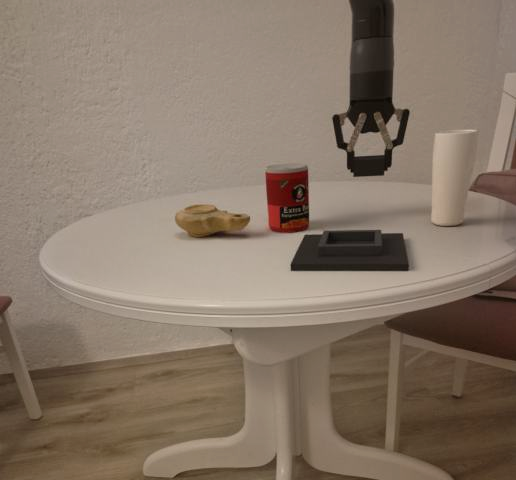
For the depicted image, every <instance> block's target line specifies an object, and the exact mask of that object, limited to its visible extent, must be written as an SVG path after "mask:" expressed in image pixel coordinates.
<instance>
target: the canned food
mask: <svg viewBox="0 0 516 480" xmlns="http://www.w3.org/2000/svg"><path fill="white" fill-rule="evenodd" d="M264 173H265V174H264V175H265V190H266V206H267V221H268V226H269V229H270V230H271V231H273V232H276V233H297V232H302V231H305V230H306V229H308V228H309V224H310V192H309V191H310V190H309V189H310V187H309V182H310V181H309V166H308V164H306V163H302V162H293V163H292V162H289V163H280V164H279V163H277V164H271V165H267V166H266V167H265V172H264Z"/></svg>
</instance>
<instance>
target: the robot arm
mask: <svg viewBox="0 0 516 480" xmlns="http://www.w3.org/2000/svg"><path fill="white" fill-rule="evenodd" d="M348 4H349V8H350V12H351V24H350V25H351V30H350V31H351V32H350V33H351V35H350V36H351V41H350V51H349V52H350V53H349V68H348V69H349V103H348V104H349V105H348V108H347V109H346V111H345V112H342V113H334V114H333V116H332V118H331V121H332V125H333V131H334V136H335V142H336V147H337V149H339V150H343V151H345V152H346V169H347V170H348V171H349V172H350V174H353V165H354V158H355V157H356V151H355V146H356V144H357V141H358V139H359V137H360V135H361V134H362V135H364V134H368V133H373V134H377V133H378V134H379V133H380V135H381V138H382V140H383V143H384V145H385V149H384V150H383V151H384V153H383V155H384V157H385V167H384V172H388V170H389V168H392V165H393V150H394V149H395V148H396V147H398V146H402V145H403V144H404V141H405V137H406V131H407V127H408V123H409V118H410V113H411V111H410V109H409V108H397V107H395V105H394V103H393V102H394V101H393V93H394V92H393V91H394V70H395V69H394V68H395V45H394V34H395V33H394V31H395V3H394V0H348ZM394 115H395V116H396V121H397V122H399V125H398V128H397V134H396V137H395V138H394V139H392V138H391V136H390V134H389V131H388V128H387V125H388V123H389V122H390V120H391V119H392V118H393V116H394ZM346 119H348V121H349V122H350V123H351V125H352V127H354V129H353V131H352V134H351V136H350V139H349V141H348V142H346V141H345V140H344V134H343V128H342V127H343V126H344V125H345V123H346Z"/></svg>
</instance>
